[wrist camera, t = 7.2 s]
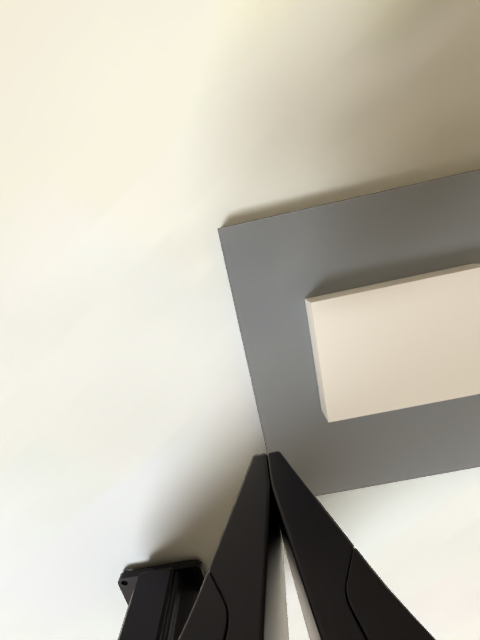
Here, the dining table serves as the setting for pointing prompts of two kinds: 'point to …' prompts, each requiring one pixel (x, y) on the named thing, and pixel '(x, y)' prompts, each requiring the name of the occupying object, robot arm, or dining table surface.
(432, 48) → the dining table surface
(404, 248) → the slate board
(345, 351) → the tile
